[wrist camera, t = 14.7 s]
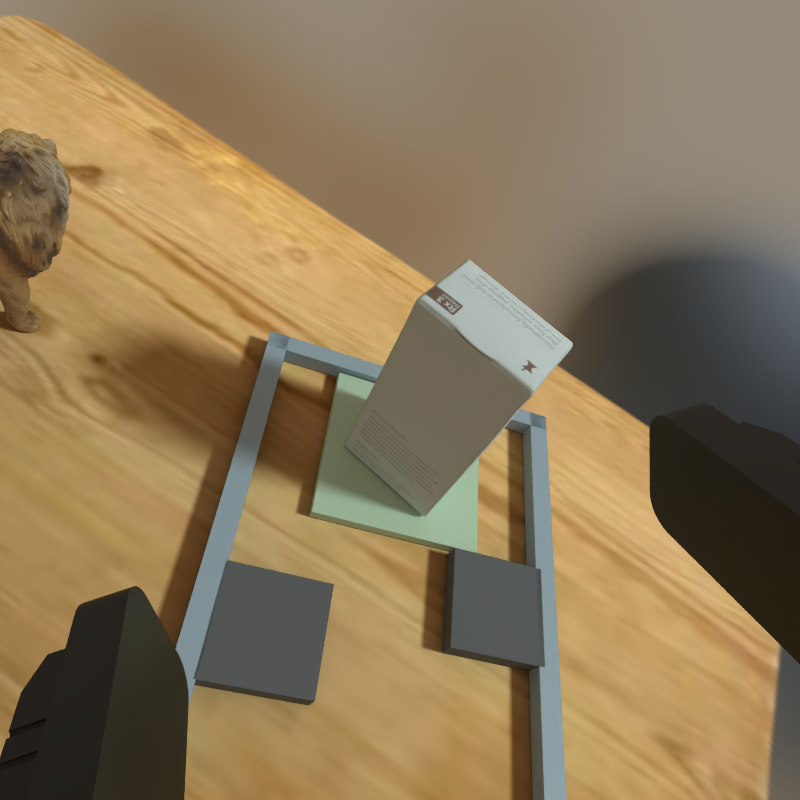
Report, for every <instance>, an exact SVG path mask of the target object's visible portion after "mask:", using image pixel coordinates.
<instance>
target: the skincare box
mask: <svg viewBox="0 0 800 800" xmlns="http://www.w3.org/2000/svg"><path fill="white" fill-rule="evenodd" d="M572 345H573V344H572V342H571V341H570V340H568V339H567V338H566V337H564V336H563V335H562V334H561V333H560V332H558V331H557V330H556V329H554V328H553V327H552V326H551V325H550V324H548V323H547V322H546V321H545V320H543V319H542V318H541V317H540V316H538V315H537V314H536V313H535V312H534V311H532V310H531V309H530V308H529V307H527V306H526V305H525V304H523V303H522V302H521V301H520V300H519V299H517V298H516V297H515V296H514V295H512V294H511V293H510V292H509V291H507V290H506V289H505V288H504V287H503V286H501V285H500V284H499V283H498V282H496V281H495V280H494V279H493V278H491V277H490V276H489V275H487V274H486V273H485V272H484V271H483V270H481V269H480V268H479V267H478V266H476V265H475V264H474V263H473V262H472V261H471V260H466V261H465V262H464V263H462V264H461V265H460V266H459V267H457V268H456V269H455V270H454V271H453V272H451V273H450V274H449V275H448V276H446V277H445V278H444V279H443V280H441V281H440V282H439V283H437V284H436V285H435V286H433V287H432V288H431V289H429V290H428V291H427V292H425V293H424V294H423V295H421V296H420V297H419V298H418V299H417V300H416V302H415V304H414V306H413V308H412V311H411V313H410V315H409V317H408V319H407V321H406V323H405V325H404V327H403V329H402V331H401V333H400V335H399V337H398V339H397V341H396V343H395V345H394V347H393V349H392V351H391V353H390V355H389V357H388V359H387V361H386V363H385V365H384V366H383V368H382V370H381V372H380V374H379V376H378V378H377V380H376V382H375V384H374V386H373V388H372V390H371V392H370V394H369V396H368V398H367V400H366V402H365V404H364V406H363V408H362V410H361V412H360V414H359V416H358V418H357V420H356V422H355V424H354V425H353V427H352V429H351V431H350V433H349V435H348V437H347V439H346V441H345V446H346V447H347V448H348V449H349V450H350V451H351V452H352V453H354V454H355V455H356V456H357V457H358V458H359V459H360V460H361V461H363V462H364V463H365V464H366V465H367V466H368V467H369V468H370V469H372V470H373V471H374V472H375V473H376V474H377V475H378V476H379V477H380V478H382V479H383V480H384V481H385V482H386V483H387V484H388V485H389V486H390V487H392V488H393V489H394V490H395V491H396V492H397V493H398V494H399V495H400V496H402V497H403V498H404V499H405V500H406V501H407V502H408V503H409V504H410V505H412V506H413V507H414V508H415V509H416V510H417V511H418V512H419V513H421V514H422V515H423V516H427V515H428V514H429V513H430V512H431V511H432V510H433V509H434V507H435V506H436V505H437V504H438V503H439V502H440V501H441V499H442V498H443V497H444V496H445V495H446V494H447V493H448V491H449V490H450V489H451V488H452V487H453V486H454V485H455V483H456V482H457V481H458V480H459V479H460V478H461V477H462V475H463V474H464V473H465V472H466V471H467V470H468V469H469V468H470V466H471V465H472V464H473V463H474V462H475V461H476V460H477V459H478V458H479V456H480V455H481V454H482V453H483V452H484V451H485V450H486V449H487V448H488V446H489V445H490V444H491V443H492V442H493V441H494V440H495V439H496V438H497V436H498V435H499V434H500V433H501V432H502V430H503V429H504V428H505V427H506V425H507V424H508V423H509V422H510V421H511V419H512V418H513V417H514V416H515V414H516V413H517V412H518V411H519V410H520V408H521V407H522V406H523V405H524V404H525V403H526V402H527V401H528V400H529V399H530V398H531V397H532V396H533V394H534V393H535V391H536V390H537V389H538V387H539V386H540V385H541V384H542V382H543V381H544V380H545V379H546V377H547V376H548V375H549V374H550V372H551V371H552V370H553V369H554V368H555V367H556V366H557V364H558V363H559V362H560V361H561V360H562V359H563V358H564V357H565V355H566V354H567V353H568V352H569V351H570V349H571V348H572Z"/></svg>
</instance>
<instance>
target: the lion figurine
mask: <svg viewBox="0 0 800 800" xmlns="http://www.w3.org/2000/svg"><path fill="white" fill-rule="evenodd" d="M56 155H57V149H56V144H55V143H54V141H53V140H51V139H42V138H41V137H39V136H38V135H36V134H27V133H24V132H22V131H16V130H13V129H7V130H4V131H3V132H2V133H0V300H1V301H2V304H3V306H4V309H5V318H6V320H7V321H8V322H9V323H10V324H11V325H12V326H13V327H14V328H15V329H16V330H19V331H22V332H27V333H33V332H36V331H38V329H39V328H40V326H41V321H40V317H39V316H38V315H37V314H35V313H34V312H33V311H28V305H29V299H30V289H29V284H28V278H30V277H34V276H36V275H37V274H38V273H39V272H43V271H44V270H47V269H49V267H50V265H51V263H52V257H54V256H57V255H58V254H59V252H60V250H61V245H62V237H63V235H64V232H65V228H66V225H65V224H66V222H67V220H68V217H69V212H68V208H69V198H68V197H69V194H70V193H71V186H70V177H69V175H68V173H67V172H66V170H65V169H64V167H63V165H62V164H61V162H60V161H59V159H58V157H57V156H56Z"/></svg>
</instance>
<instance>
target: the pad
mask: <svg viewBox="0 0 800 800" xmlns="http://www.w3.org/2000/svg"><path fill="white" fill-rule="evenodd" d="M374 384H375V383H373V382H369V381H366V380H363V379H360V378H356V377H353V376H350V375H346V374H343V373H339V375H338V377H337V380H336V385H335V390H334V395H333V400H332V405H331V410H330V415H329V419H328V424H327V429H326V434H325V439H324V444H323V449H322V454H321V459H320V464H319V469H318V474H317V479H316V484H315V489H314V494H313V499H312V504H311V509H310V514H309V517H313V518H317V519H321V520H325V521H330V522H334V523H338V524H342V525H346V526H350V527H354V528H358V529H362V530H366V531H370V532H374V533H378V534H382V535H386V536H390V537H394V538H398V539H402V540H406V541H410V542H414V543H418V544H422V545H426V546H430V547H434V548H438V549H442V550H446V551H450V552H451V551H452V550H453V549H454V548H458V549H462V550H466V551H470V552H474V553H476V552H477V509H478V466H479V458H478V459H477V460H476V461H475V462H474V463H473V464H472V465H471V466H470V468H469V469H468V470H467V471H466V472H465V473H464V474H463V475H462V477H461V478H460V479H459V480H458V481H457V482H456V483H455V485H454V486H453V487H452V488H451V489H450V490H449V491H448V493H447V494H446V495H445V496H444V497H443V498H442V499H441V501H440V502H439V503H438V504H437V505H436V506H435V507H434V509H433V510H432V511H431V512H430V513H429V514H428V515H427V516H423V515H422V514H421V513H419V512H418V511H417V510H416V509H415V508H414V507H413V506H412V505H410V504H409V503H408V502H407V501H406V500H405V499H404V498H403V497H402V496H400V495H399V494H398V493H397V492H396V491H395V490H394V489H393V488H392V487H390V486H389V485H388V484H387V483H386V482H385V481H384V480H383V479H382V478H380V477H379V476H378V475H377V474H376V473H375V472H374V471H373V470H372V469H370V468H369V467H368V466H367V465H366V464H365V463H364V462H363V461H361V460H360V459H359V458H358V457H357V456H356V455H355V454H354V453H352V452H351V451H350V450H349V449H348V448H347V447H346V446H345V441H346V439H347V437H348V435H349V433H350V431H351V429H352V427H353V425H354V424H355V422H356V420H357V418H358V416H359V414H360V412H361V410H362V408H363V406H364V404H365V402H366V400H367V398H368V396H369V394H370V392H371V390H372V388H373V386H374Z"/></svg>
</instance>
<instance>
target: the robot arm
mask: <svg viewBox="0 0 800 800" xmlns="http://www.w3.org/2000/svg"><path fill="white" fill-rule="evenodd" d="M650 498H651V503H652V506H653V509H654V512H655V514H656V516H657V518H658V520H659V522H660V523H661V525H662V526H663V528H664V529H665V530H666V531H667V532H668V534H669V535H670V536H671V537H673V538H674V539H675V540H676V541H677V542H678V543H679V544H680V545H681V546H682V547H683V548H684V549H685V550H686V551H687V552H688V553H689V554H690V555H691V556H692V557H693V558H694V559H695V560H696V561H697V562H698V563H699V564H700V565H701V566H702V567H703V568H704V569H705V570H706V571H707V572H708V573H709V574H710V575H711V576H712V577H713V578H714V579H715V580H716V581H717V582H718V583H719V584H720V585H721V586H722V587H723V588H724V589H725V590H726V591H727V592H728V593H729V594H730V595H731V596H732V597H733V598H734V599H735V600H736V601H737V602H738V603H739V604H740V605H741V606H742V607H743V608H744V609H745V610H746V611H747V612H748V613H749V614H750V615H751V616H752V617H753V618H754V619H755V620H756V621H757V622H758V623H759V624H760V625H761V626H762V627H763V628H764V629H765V630H766V631H767V632H768V633H769V634H770V635H771V636H772V637H773V638H774V639H775V640H776V641H777V642H778V643H779V644H780V645H781V646H782V647H783V648H784V649H785V650H786V651H787V652H788V653H789V654H790V655H791V656H792V657H793V658H794V659H795V660H796V661H797V662H798V663H799V664H800V445H799V444H797V443H796V442H794V441H792V440H791V439H789V438H788V437H786V436H784V435H783V434H780V433H777V432H774V431H771V430H768V429H765V428H762V427H758V426H755V425H752V424H749V423H746V422H743V423H740V424H738V423H737V422H735V421H734V420H732V419H730V418H729V417H727V416H726V415H724V414H723V413H721V412H720V411H718V410H717V409H715V408H714V407H712V406H710V405H708V404H706V403H696V404H693V405H690V406H687V407H684V408H681V409H677V410H675V411H671V412H668V413H665V414H662V415H659V416H656V417H655V418H654V419H653V420H652V422H651V424H650ZM188 705H189V694H188V684H187V679H186V674H185V670H184V667H183V664H182V661H181V659H180V656H179V654H178V652H177V651H176V649H175V647H174V645H173V643H172V642H171V640H170V638H169V636H168V634H167V633H166V631H165V629H164V627H163V625H162V624H161V622H160V620H159V618H158V616H157V615H156V613H155V611H154V609H153V607H152V606H151V604H150V602H149V600H148V598H147V597H146V595H145V593H144V592H143V591H142V590H141V589H140V588H139V587H137V586H134V587H131V588H128V589H125V590H122V591H118V592H115V593H112V594H109V595H106V596H103V597H100V598H97V599H94V600H91V601H88V602H85V603H82V604H80V605H79V606H78V608H77V610H76V612H75V615H74V619H73V623H72V626H71V630H70V634H69V637H68V641H67V645H66V649H63V650H60V651H57V652H54V653H51V654H48V655H47V656H46V658H45V659H44V660H43V662H42V663H41V665H40V666H39V668H38V669H37V670H36V672H35V673H34V675H33V676H32V678H31V679H30V681H29V682H28V683H27V685H26V686H25V688H24V689H23V691H22V692H21V695H20V698H19V701H18V704H17V707H16V710H15V713H14V716H13V719H12V723H11V726H10V729H9V733H10V738H8V739H6V741H5V744H4V747H3V751H2V754H1V757H0V800H184V791H185V770H186V748H187V726H188Z"/></svg>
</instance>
